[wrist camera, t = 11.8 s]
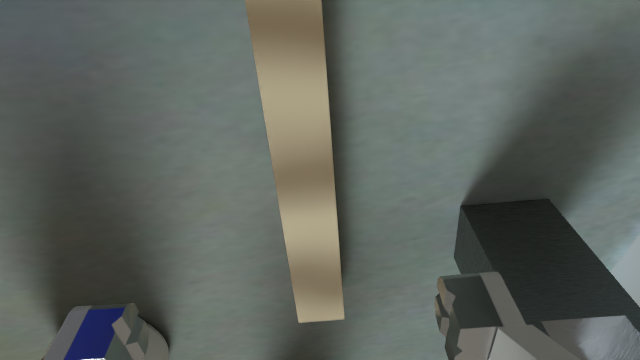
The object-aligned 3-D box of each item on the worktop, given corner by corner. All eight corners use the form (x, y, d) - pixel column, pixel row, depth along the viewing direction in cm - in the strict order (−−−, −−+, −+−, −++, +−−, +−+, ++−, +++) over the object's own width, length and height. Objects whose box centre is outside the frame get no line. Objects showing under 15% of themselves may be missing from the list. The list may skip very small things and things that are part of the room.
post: (460, 206, 24) (542, 363, 15) (548, 199, 24) (678, 353, 15) (454, 257, 26) (522, 418, 18) (534, 251, 26) (641, 410, 18)
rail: (236, -119, 16) (224, -124, 13) (310, -126, 15) (311, -132, 13) (299, 287, 28) (298, 322, 25) (341, 284, 27) (344, 319, 25)
